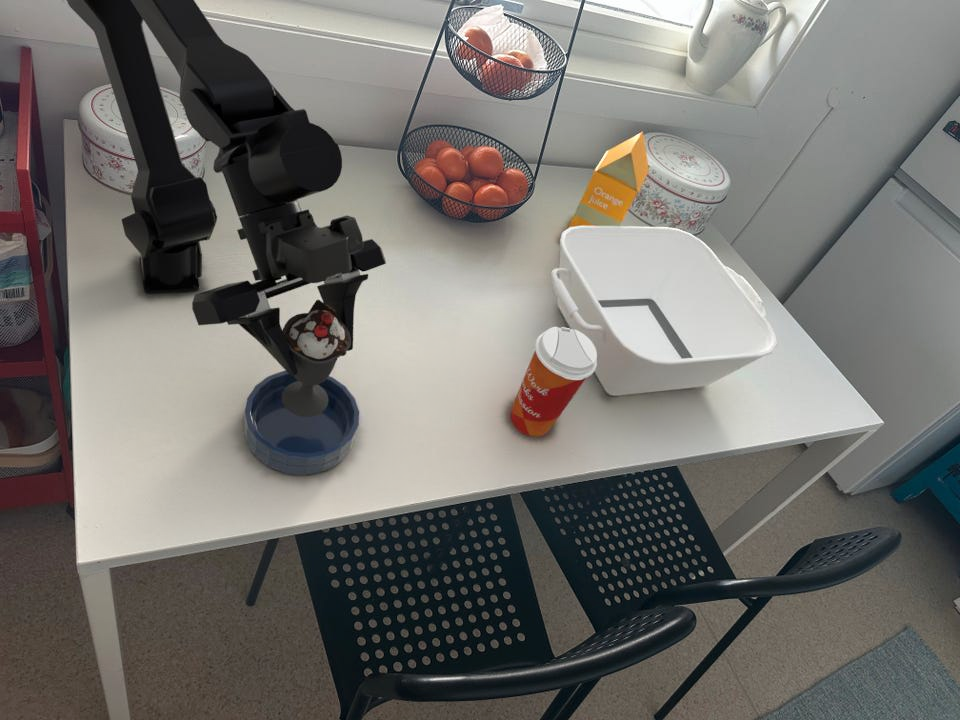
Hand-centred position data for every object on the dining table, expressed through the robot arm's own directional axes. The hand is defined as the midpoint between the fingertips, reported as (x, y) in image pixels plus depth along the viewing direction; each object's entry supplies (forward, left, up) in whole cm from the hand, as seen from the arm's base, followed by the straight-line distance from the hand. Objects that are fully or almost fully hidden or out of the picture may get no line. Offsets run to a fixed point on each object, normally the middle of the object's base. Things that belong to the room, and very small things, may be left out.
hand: (322, 362), depth 71 cm
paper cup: (+29, -2, -13) cm, 32 cm away
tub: (+51, +8, -13) cm, 53 cm away
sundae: (-1, +1, -8) cm, 8 cm away
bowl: (-1, +1, -13) cm, 13 cm away
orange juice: (+57, +33, -13) cm, 67 cm away
